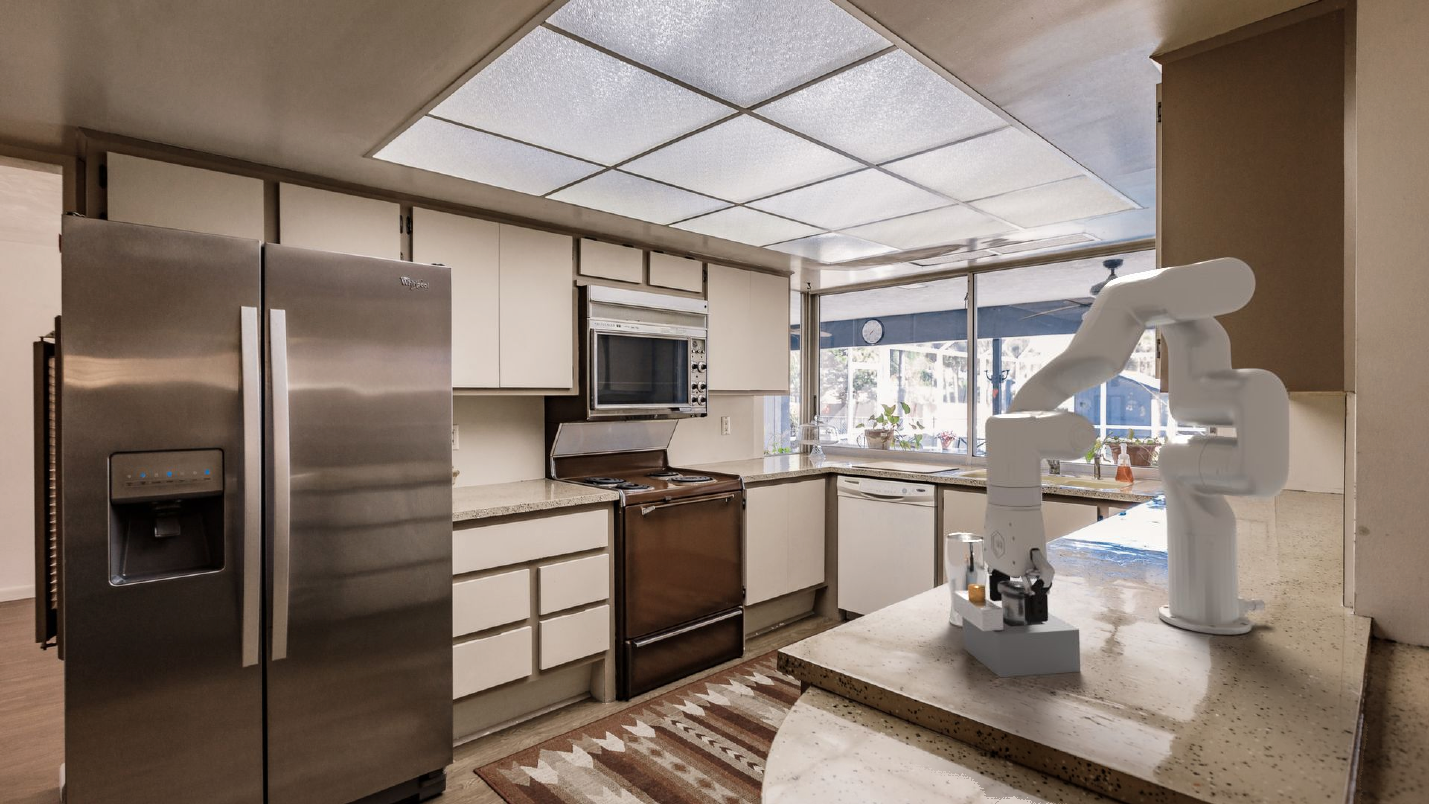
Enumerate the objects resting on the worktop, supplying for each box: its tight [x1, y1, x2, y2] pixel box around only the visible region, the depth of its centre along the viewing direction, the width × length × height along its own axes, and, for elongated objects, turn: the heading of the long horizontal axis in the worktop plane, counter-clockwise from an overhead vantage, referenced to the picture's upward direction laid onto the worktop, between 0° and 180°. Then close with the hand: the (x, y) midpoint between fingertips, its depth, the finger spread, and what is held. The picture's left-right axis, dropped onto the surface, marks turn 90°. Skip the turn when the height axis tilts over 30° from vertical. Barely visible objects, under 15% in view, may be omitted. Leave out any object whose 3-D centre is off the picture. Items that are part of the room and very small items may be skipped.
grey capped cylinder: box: [998, 580, 1032, 627], centre depth 98 cm, size 5×5×10 cm
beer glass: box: [944, 532, 988, 629], centre depth 114 cm, size 7×7×15 cm
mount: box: [962, 606, 1081, 678], centre depth 98 cm, size 12×11×6 cm
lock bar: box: [954, 584, 1003, 631], centre depth 97 cm, size 3×9×5 cm, turn 5°
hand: (1017, 610), depth 98 cm, fingers open, 9 cm apart
